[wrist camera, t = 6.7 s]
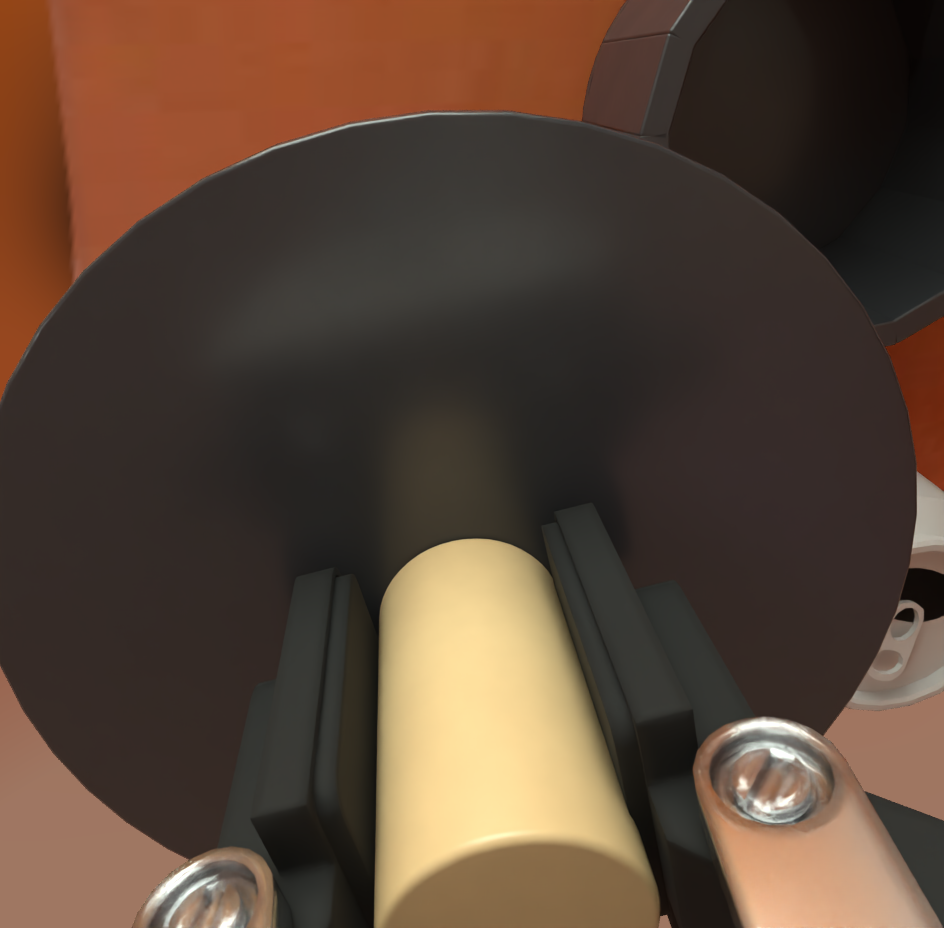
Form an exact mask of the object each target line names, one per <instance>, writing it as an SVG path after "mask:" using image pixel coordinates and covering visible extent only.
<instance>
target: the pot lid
mask: <svg viewBox="0 0 944 928" xmlns="http://www.w3.org/2000/svg"><path fill="white" fill-rule="evenodd" d="M587 503H593V505H594V506H595V508H596V510H597V512H598V515H599V517H600V519H601V521H602V523H603V525H604V527H605V529H606V531H607V533H608V535H609V537H610V539H611V541H612V543H613V545H614V548H615V550H616V552H617V554H618V556H619V558H620V560H621V562H622V564H623V566H624V568H625V570H626V572H627V574H628V576H629V578H630V581H631V583H632V585H633V587H634V589H638V588H642V587H646V586H650V585H654V584H658V583H662V582H666V581H670V580H675V581H676V582H677V583H678V584H679V586H680V587H681V589H682V590H683V592H684V594H685V596H686V597H687V599H688V601H689V602H690V604H691V606H692V608H693V609H694V611H695V613H696V615H697V616H698V618H699V620H700V621H701V623H702V625H703V627H704V628H705V630H706V632H707V634H708V635H709V637H710V639H711V641H712V642H713V644H714V646H715V647H716V649H717V651H718V653H719V654H720V656H721V658H722V660H723V661H724V663H725V665H726V666H727V668H728V670H729V672H730V673H731V675H732V677H733V679H734V680H735V682H736V684H737V686H738V687H739V689H740V691H741V692H742V694H743V696H744V698H745V699H746V701H747V703H748V705H749V706H750V708H751V710H752V711H753V713H754V715H755V717H773V718H779V719H786V720H791V721H794V722H796V723H799V724H801V725H804V726H807V727H809V728H812V729H814V730H815V731H816V732H818V733H819V734H821V735H822V736H823V735H824V734H825V733H826V732H827V730H828V729H829V728H830V726H831V725H832V723H833V722H834V721H835V720H836V718H837V717H838V716H839V714H840V713H841V712H842V710H843V709H844V707H846V705H847V704H848V703H849V701H850V700H851V699H852V697H853V696H854V694H855V692H856V690H857V689H858V687H859V685H860V684H861V682H862V680H863V679H864V677H865V675H866V674H867V672H868V670H869V669H870V667H871V665H872V663H873V662H874V660H875V658H876V657H877V655H878V652H879V650H880V648H881V645H882V643H883V641H884V639H885V636H886V634H887V632H888V629H889V627H890V625H891V623H892V620H893V618H894V616H895V613H896V611H897V608H898V604H899V601H900V597H901V594H902V590H903V587H904V583H905V580H906V576H907V573H908V569H909V566H910V561H911V554H912V547H913V539H914V532H915V525H916V518H917V462H916V456H915V449H914V443H913V437H912V431H911V425H910V419H909V413H908V409H907V406H906V403H905V400H904V397H903V394H902V391H901V388H900V385H899V382H898V379H897V376H896V373H895V370H894V367H893V364H892V361H891V358H890V355H889V354H888V352H887V350H886V348H885V346H884V344H883V342H882V340H881V338H880V337H879V335H878V333H877V331H876V329H875V327H874V325H873V323H872V321H871V320H870V318H869V316H868V314H867V312H866V310H865V308H864V306H863V305H862V303H861V302H860V301H859V299H858V298H857V297H856V295H855V294H854V293H853V292H852V290H851V289H850V288H849V286H848V285H847V284H846V282H845V281H844V280H843V278H842V277H841V276H840V274H839V273H838V272H837V271H836V269H835V268H834V267H833V265H832V264H831V263H830V261H829V260H828V259H827V257H826V256H825V255H824V254H823V253H821V252H820V251H819V250H818V249H817V248H816V247H815V246H814V245H813V244H812V243H811V242H810V241H809V240H808V239H807V238H806V237H805V236H803V235H802V234H801V233H800V232H799V231H798V230H797V229H796V228H795V227H794V226H793V225H792V224H791V223H790V222H789V221H788V220H787V219H785V218H784V217H783V216H782V215H781V214H780V213H779V212H778V211H776V210H775V209H773V208H772V207H770V206H769V205H767V204H766V203H764V202H763V201H761V200H760V199H759V198H757V197H756V196H754V195H753V194H751V193H750V192H748V191H747V190H745V189H744V188H742V187H741V186H739V185H738V184H736V183H735V182H734V181H732V180H731V179H729V178H728V177H726V176H725V175H723V174H721V173H719V172H717V171H715V170H713V169H711V168H709V167H706V166H704V165H702V164H700V163H698V162H696V161H694V160H692V159H689V158H687V157H685V156H683V155H681V154H679V153H677V152H675V151H673V150H670V149H668V148H666V147H664V146H662V145H660V144H658V143H654V142H651V141H647V140H644V139H641V138H637V137H634V136H631V135H627V134H624V133H621V132H617V131H614V130H611V129H607V128H604V127H601V126H597V125H594V124H591V123H587V122H583V121H577V120H570V119H563V118H556V117H549V116H542V115H535V114H528V113H521V112H514V111H507V110H427V111H420V112H413V113H406V114H399V115H393V116H386V117H379V118H372V119H365V120H359V121H352V122H348V123H345V124H342V125H338V126H335V127H331V128H328V129H325V130H321V131H318V132H315V133H311V134H308V135H305V136H301V137H298V138H295V139H291V140H288V141H285V142H281V143H278V144H276V145H273V146H271V147H269V148H267V149H265V150H263V151H260V152H258V153H256V154H254V155H252V156H250V157H248V158H245V159H243V160H241V161H239V162H237V163H235V164H233V165H230V166H228V167H226V168H224V169H222V170H220V171H217V172H215V173H213V174H211V175H209V176H207V177H205V178H203V179H201V180H200V181H198V182H197V183H195V184H194V185H192V186H191V187H189V188H188V189H186V190H184V191H183V192H181V193H180V194H178V195H177V196H175V197H174V198H172V199H171V200H169V201H168V202H166V203H165V204H163V205H162V206H160V207H159V208H157V209H156V210H154V211H153V212H151V213H150V214H148V215H147V216H145V217H144V218H142V219H141V220H139V221H138V222H136V223H135V224H134V225H133V226H132V227H131V228H130V229H129V230H128V231H127V232H125V233H124V234H123V235H122V236H121V237H120V238H119V239H118V240H117V241H116V242H114V243H113V244H112V245H111V246H110V247H109V248H108V249H107V250H106V251H105V252H103V253H102V254H101V255H100V256H99V257H98V258H97V259H96V260H95V261H94V262H92V263H91V264H90V265H89V266H88V267H87V268H86V269H85V270H84V271H83V272H82V273H81V274H80V276H79V277H78V278H77V279H76V280H75V282H74V283H73V284H72V285H71V287H70V288H69V289H68V290H67V292H66V293H65V294H64V295H63V297H62V298H61V299H60V300H59V302H58V303H57V304H56V305H55V307H54V308H53V309H52V310H51V312H50V313H49V314H48V316H47V317H46V318H45V319H44V320H43V322H42V323H41V324H40V326H39V327H38V329H37V331H36V333H35V334H34V336H33V338H32V340H31V341H30V343H29V345H28V347H27V348H26V350H25V352H24V354H23V356H22V357H21V359H20V361H19V363H18V365H17V366H16V368H15V370H14V372H13V373H12V375H11V377H10V379H9V380H8V382H7V384H6V387H5V390H4V393H3V396H2V398H1V401H0V666H1V668H2V670H3V672H4V674H5V676H6V678H7V680H8V682H9V684H10V686H11V688H12V690H13V692H14V694H15V696H16V698H17V699H18V701H19V704H20V705H21V707H22V709H23V711H24V713H25V714H26V716H27V717H28V718H29V720H30V721H31V723H32V724H33V725H34V727H35V728H36V730H37V731H38V732H39V734H40V735H41V737H42V738H43V740H44V741H45V742H46V744H47V745H48V747H49V748H50V749H51V751H52V752H53V754H54V755H55V756H56V757H57V758H58V759H59V760H60V761H61V762H62V763H63V764H64V765H65V766H66V767H67V769H68V770H69V771H70V772H71V773H72V774H73V775H74V776H75V777H76V778H77V779H78V780H79V781H80V783H81V784H82V785H83V786H84V787H85V788H86V789H87V790H88V791H89V792H91V793H92V794H93V795H94V796H95V797H96V798H98V799H99V800H100V801H101V802H102V803H104V804H105V805H106V806H107V807H108V808H110V809H111V810H112V811H113V812H114V813H116V814H117V815H118V816H119V817H120V818H122V819H123V820H124V821H125V822H127V823H128V824H130V825H131V826H133V827H134V828H136V829H137V830H139V831H141V832H142V833H144V834H145V835H147V836H148V837H150V838H151V839H153V840H154V841H156V842H157V843H159V844H160V845H162V846H164V847H165V848H167V849H168V850H170V851H173V852H174V853H176V854H178V855H180V856H182V857H184V858H186V859H189V860H190V859H191V858H194V857H196V856H198V855H201V854H203V853H205V852H208V851H210V850H213V849H217V847H218V843H219V838H220V834H221V829H222V825H223V821H224V816H225V812H226V807H227V803H228V798H229V794H230V789H231V785H232V780H233V776H234V771H235V767H236V762H237V758H238V753H239V749H240V745H241V740H242V736H243V731H244V727H245V722H246V718H247V713H248V709H249V704H250V700H251V696H252V693H253V690H254V687H255V686H257V685H258V684H259V683H262V682H266V681H270V680H274V679H276V677H277V672H278V667H279V662H280V656H281V651H282V646H283V640H284V635H285V630H286V624H287V619H288V614H289V608H290V603H291V598H292V593H293V587H294V582H295V579H296V577H298V576H302V575H306V574H310V573H314V572H317V571H321V570H325V569H329V568H333V567H336V568H338V570H339V571H340V573H341V575H342V576H344V575H348V574H352V573H353V574H354V575H355V577H356V579H357V581H358V584H359V587H360V589H361V592H362V595H363V598H364V600H365V603H366V606H367V609H368V611H369V614H370V617H371V620H372V622H373V625H374V628H375V631H376V633H377V636H378V639H379V657H378V715H377V773H376V832H375V890H374V928H658V926H659V921H660V912H661V906H660V895H659V891H658V887H657V884H656V881H655V878H654V875H653V872H652V869H651V866H650V863H649V860H648V857H647V854H646V851H645V848H644V845H643V842H642V839H641V836H640V833H639V831H638V828H637V826H636V824H635V822H634V820H633V819H632V817H631V816H630V814H629V811H628V808H627V805H626V802H625V799H624V796H623V793H622V790H621V787H620V784H619V781H618V778H617V775H616V772H615V769H614V766H613V763H612V760H611V757H610V754H609V751H608V748H607V745H606V741H605V738H604V735H603V732H602V729H601V726H600V723H599V720H598V717H597V714H596V711H595V708H594V705H593V702H592V699H591V696H590V693H589V690H588V687H587V684H586V681H585V678H584V675H583V671H582V668H581V665H580V662H579V659H578V656H577V653H576V650H575V647H574V644H573V641H572V638H571V635H570V632H569V629H568V626H567V623H566V620H565V617H564V614H563V611H562V608H561V605H560V602H559V598H558V595H557V592H556V589H555V586H554V581H553V577H552V573H551V568H550V564H549V559H548V555H547V550H546V546H545V542H544V537H543V533H542V527H541V526H542V525H546V524H550V523H554V522H555V520H554V512H555V511H559V510H563V509H567V508H571V507H575V506H579V505H583V504H587Z"/></svg>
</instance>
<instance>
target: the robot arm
mask: <svg viewBox="0 0 944 928" xmlns="http://www.w3.org/2000/svg"><path fill="white" fill-rule="evenodd" d="M554 520H555V522H554V523H550V524H546V525H542V526H541V527H542V533H543V537H544V542H545V546H546V550H547V555H548V559H549V564H550V568H551V573H552V577H553V581H554V586H555V589H556V592H557V595H558V598H559V602H560V605H561V608H562V611H563V614H564V617H565V620H566V623H567V626H568V629H569V632H570V635H571V638H572V641H573V644H574V647H575V650H576V653H577V656H578V659H579V662H580V665H581V668H582V671H583V675H584V678H585V681H586V684H587V687H588V690H589V693H590V696H591V699H592V702H593V705H594V708H595V711H596V714H597V717H598V720H599V723H600V726H601V729H602V732H603V735H604V738H605V741H606V745H607V748H608V751H609V754H610V757H611V760H612V763H613V766H614V769H615V772H616V775H617V778H618V781H619V784H620V787H621V790H622V793H623V796H624V799H625V802H626V805H627V808H628V811H629V814H630V816H631V817H632V819H633V820H634V822H635V824H636V826H637V828H638V831H639V833H640V836H641V839H642V842H643V845H644V848H645V851H646V854H647V857H648V860H649V863H650V866H651V869H652V872H653V875H654V878H655V881H656V884H657V887H658V891H659V895H660V906H661V912H660V916H663V915H668V918H669V921H670V924H671V927H672V928H944V821H943V820H940V819H938V818H935V817H932V816H930V815H927V814H924V813H922V812H919V811H916V810H914V809H911V808H908V807H905V806H903V805H900V804H897V803H895V802H892V801H890V800H887V799H884V798H882V797H879V796H876V795H874V794H871V793H868V792H865V791H864V790H863V788H862V787H861V785H860V783H859V782H858V780H857V778H856V776H855V774H854V773H853V771H852V769H851V768H850V766H849V764H848V762H847V761H846V759H845V758H844V757H843V755H842V754H841V753H840V752H839V751H838V749H837V748H836V747H835V746H834V745H833V743H832V742H831V741H829V740H828V739H826V738H825V737H824V736H822V735H821V734H819V733H818V732H816V731H815V730H814V729H812V728H809V727H807V726H804V725H801V724H799V723H796V722H794V721H791V720H786V719H779V718H773V717H755V715H754V713H753V711H752V710H751V708H750V706H749V705H748V703H747V701H746V699H745V698H744V696H743V694H742V692H741V691H740V689H739V687H738V686H737V684H736V682H735V680H734V679H733V677H732V675H731V673H730V672H729V670H728V668H727V666H726V665H725V663H724V661H723V660H722V658H721V656H720V654H719V653H718V651H717V649H716V647H715V646H714V644H713V642H712V641H711V639H710V637H709V635H708V634H707V632H706V630H705V628H704V627H703V625H702V623H701V621H700V620H699V618H698V616H697V615H696V613H695V611H694V609H693V608H692V606H691V604H690V602H689V601H688V599H687V597H686V596H685V594H684V592H683V590H682V589H681V587H680V586H679V584H678V583H677V582H676V581H675V580H670V581H666V582H662V583H658V584H654V585H650V586H646V587H642V588H638V589H634V587H633V585H632V583H631V581H630V578H629V576H628V574H627V572H626V570H625V568H624V566H623V564H622V562H621V560H620V558H619V556H618V554H617V552H616V550H615V548H614V545H613V543H612V541H611V539H610V537H609V535H608V533H607V531H606V529H605V527H604V525H603V523H602V521H601V519H600V517H599V515H598V512H597V510H596V508H595V506H594V505H593V503H587V504H583V505H579V506H575V507H571V508H567V509H563V510H559V511H555V512H554ZM378 657H379V639H378V636H377V633H376V631H375V628H374V625H373V622H372V620H371V617H370V614H369V611H368V609H367V606H366V603H365V600H364V598H363V595H362V592H361V589H360V587H359V584H358V581H357V579H356V577H355V575H354V574H353V573H352V574H348V575H344V576H342V575H341V573H340V571H339V570H338V568H336V567H333V568H329V569H325V570H321V571H317V572H314V573H310V574H306V575H302V576H298V577H296V579H295V582H294V587H293V593H292V598H291V603H290V608H289V614H288V619H287V624H286V630H285V635H284V640H283V646H282V651H281V656H280V662H279V667H278V672H277V677H276V679H274V680H270V681H266V682H262V683H259V684H258V685H257V686H255V687H254V690H253V693H252V696H251V700H250V704H249V709H248V713H247V718H246V722H245V727H244V731H243V736H242V740H241V745H240V749H239V753H238V758H237V762H236V767H235V771H234V776H233V780H232V785H231V789H230V794H229V798H228V803H227V807H226V812H225V816H224V821H223V825H222V829H221V834H220V838H219V843H218V847H217V849H213V850H210V851H208V852H205V853H203V854H201V855H198V856H196V857H194V858H191V859H190V860H188V861H187V862H185V863H184V864H183V865H181V866H180V867H178V868H177V869H175V870H174V871H172V872H171V873H170V874H169V875H168V876H167V877H166V878H165V879H164V880H163V881H162V882H161V883H160V884H159V885H158V886H157V887H156V888H155V889H154V890H153V891H152V892H151V894H150V895H149V897H148V898H147V900H146V901H145V903H144V904H143V906H142V907H141V909H140V910H139V912H138V913H137V916H136V918H135V921H134V924H133V926H132V928H374V890H375V832H376V773H377V715H378Z"/></svg>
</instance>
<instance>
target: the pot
mask: <svg viewBox="0 0 944 928" xmlns="http://www.w3.org/2000/svg"><path fill="white" fill-rule="evenodd" d="M582 121H583V122H587V123H591V124H594V125H597V126H601V127H604V128H607V129H611V130H614V131H617V132H621V133H624V134H627V135H631V136H634V137H637V138H641V139H644V140H647V141H651V142H654V143H658V144H660V145H662V146H664V147H666V148H668V149H670V150H673V151H675V152H677V153H679V154H681V155H683V156H685V157H687V158H689V159H692V160H694V161H696V162H698V163H700V164H702V165H704V166H706V167H709V168H711V169H713V170H715V171H717V172H719V173H721V174H723V175H725V176H726V177H728V178H729V179H731V180H732V181H734V182H735V183H736V184H738V185H739V186H741V187H742V188H744V189H745V190H747V191H748V192H750V193H751V194H753V195H754V196H756V197H757V198H759V199H760V200H761V201H763V202H764V203H766V204H767V205H769V206H770V207H772V208H773V209H775V210H776V211H778V212H779V213H780V214H781V215H782V216H783V217H784V218H785V219H787V220H788V221H789V222H790V223H791V224H792V225H793V226H794V227H795V228H796V229H797V230H798V231H799V232H800V233H801V234H802V235H803V236H805V237H806V238H807V239H808V240H809V241H810V242H811V243H812V244H813V245H814V246H815V247H816V248H817V249H818V250H819V251H820V252H821V253H823V254H824V255H825V256H826V257H827V259H828V260H829V261H830V263H831V264H832V265H833V267H834V268H835V269H836V271H837V272H838V273H839V274H840V276H841V277H842V278H843V280H844V281H845V282H846V284H847V285H848V286H849V288H850V289H851V290H852V292H853V293H854V294H855V295H856V297H857V298H858V299H859V301H860V302H861V303H862V305H863V306H864V308H865V310H866V312H867V314H868V316H869V318H870V320H871V321H872V323H873V325H874V327H875V329H876V331H877V333H878V335H879V337H880V338H881V340H882V342H883V344H884V346H890V345H895V344H896V343H898V342H901V341H902V340H904V339H906V338H908V337H909V336H911V335H913V334H914V333H916V332H918V331H919V330H921V329H923V328H925V327H926V326H928V325H930V324H931V323H933V322H935V321H936V320H938V319H940V318H941V317H943V316H944V0H627V1H626V2H625V3H624V5H623V6H622V7H621V9H620V11H619V12H618V14H617V16H616V18H615V19H614V21H613V23H612V24H611V26H610V28H609V30H608V31H607V33H606V36H605V38H604V39H603V42H602V44H601V46H600V49H599V51H598V54H597V56H596V59H595V62H594V65H593V68H592V72H591V75H590V78H589V81H588V86H587V91H586V96H585V102H584V107H583V118H582Z"/></svg>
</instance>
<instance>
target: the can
mask: <svg viewBox="0 0 944 928" xmlns="http://www.w3.org/2000/svg"><path fill="white" fill-rule="evenodd" d="M943 691H944V491H942V490H941V489H940V488H938V487H937V486H936V485H935V484H933V483H932V482H931V481H929V480H928V479H927V478H925V477H924V476H923V475H921V474H920V473H919V472H917V518H916V525H915V532H914V539H913V547H912V554H911V561H910V566H909V569H908V573H907V576H906V580H905V583H904V587H903V590H902V594H901V597H900V601H899V604H898V608H897V611H896V613H895V616H894V618H893V620H892V623H891V625H890V627H889V629H888V632H887V634H886V636H885V639H884V641H883V643H882V645H881V648H880V650H879V652H878V655H877V657H876V658H875V660H874V662H873V663H872V665H871V667H870V669H869V670H868V672H867V674H866V675H865V677H864V679H863V680H862V682H861V684H860V685H859V687H858V689H857V690H856V692H855V694H854V696H853V697H852V699H851V700H850V701H849V703H848V704H847V705H846V708H849V709H858V710H872V711H882V710H887V709H893V708H899V707H905V706H910V705H913V704H915V703H918V702H920V701H923V700H925V699H928V698H930V697H932V696H935V695H937V694H940V693H941V692H943Z"/></svg>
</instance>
